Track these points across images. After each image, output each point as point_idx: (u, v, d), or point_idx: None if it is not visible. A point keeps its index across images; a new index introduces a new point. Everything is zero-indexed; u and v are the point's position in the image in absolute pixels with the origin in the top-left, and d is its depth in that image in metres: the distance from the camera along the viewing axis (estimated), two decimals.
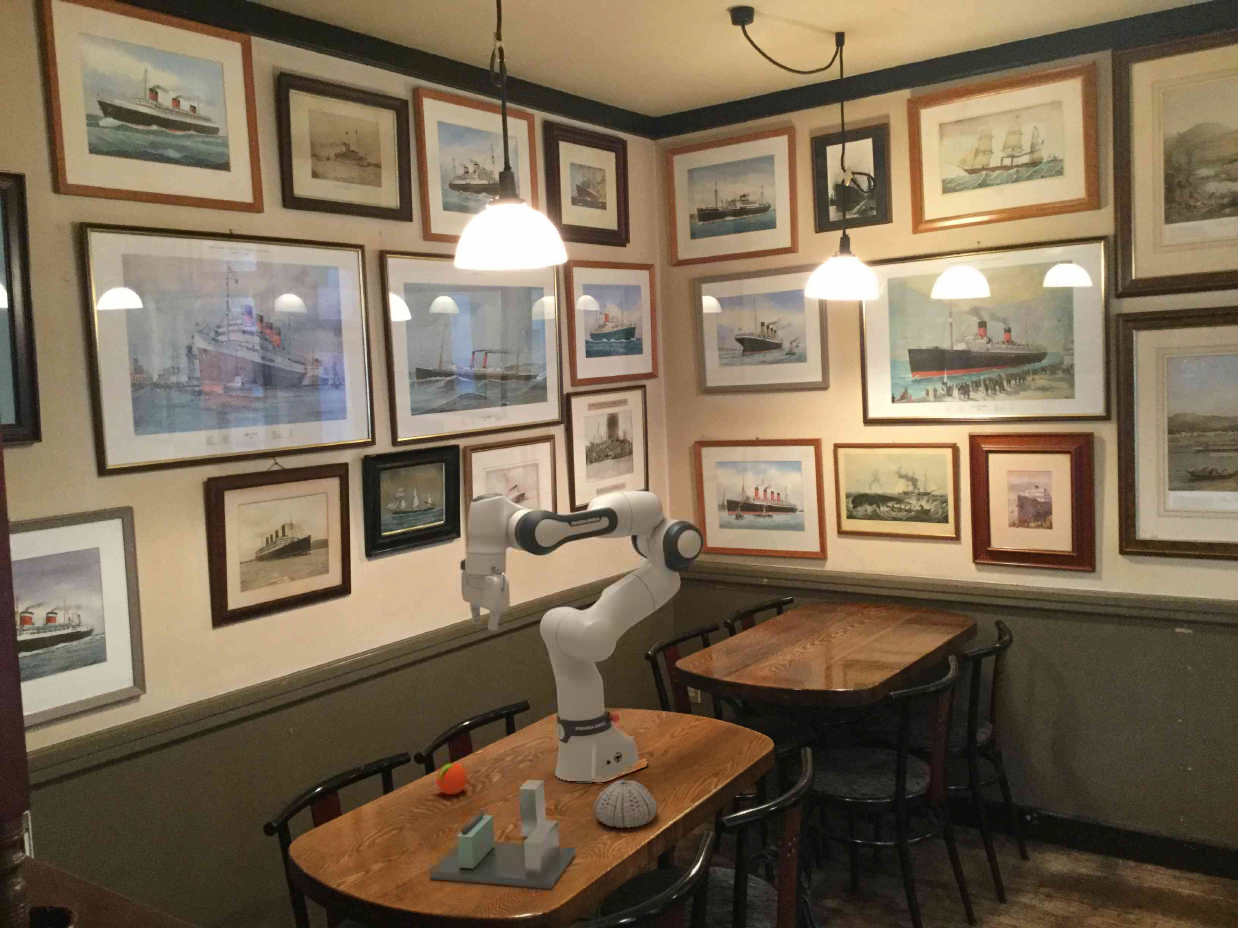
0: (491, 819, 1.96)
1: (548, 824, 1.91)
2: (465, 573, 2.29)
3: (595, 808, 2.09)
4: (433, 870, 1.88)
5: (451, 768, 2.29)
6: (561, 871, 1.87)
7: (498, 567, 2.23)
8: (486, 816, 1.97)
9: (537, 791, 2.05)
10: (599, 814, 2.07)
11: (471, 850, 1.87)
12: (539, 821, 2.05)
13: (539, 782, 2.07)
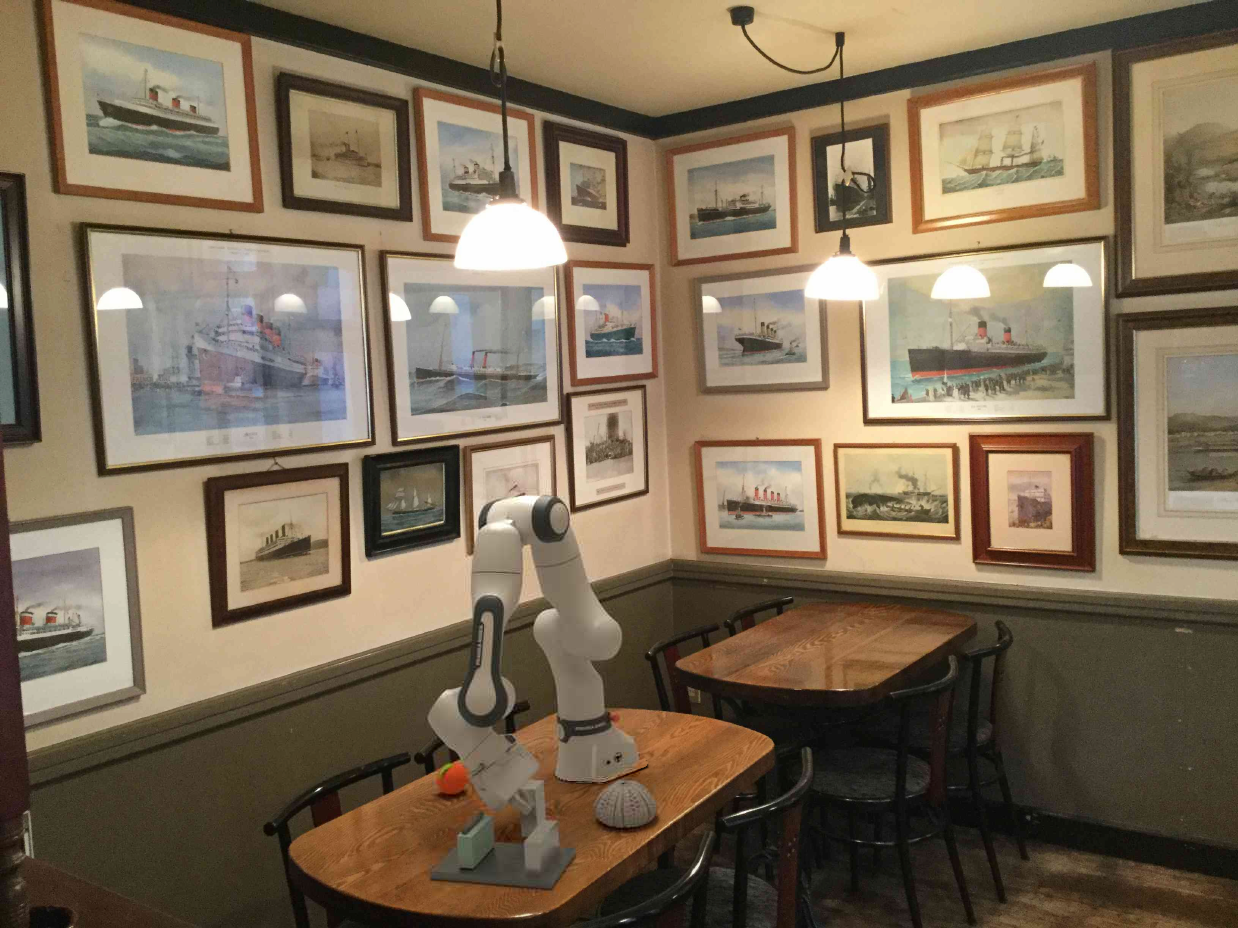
0: (491, 819, 1.96)
1: (548, 824, 1.91)
2: None
3: (595, 808, 2.09)
4: (433, 870, 1.88)
5: (451, 768, 2.29)
6: (561, 871, 1.87)
7: (484, 760, 2.04)
8: (486, 816, 1.97)
9: (537, 791, 2.05)
10: (599, 814, 2.07)
11: (471, 850, 1.87)
12: (539, 821, 2.05)
13: (539, 782, 2.07)
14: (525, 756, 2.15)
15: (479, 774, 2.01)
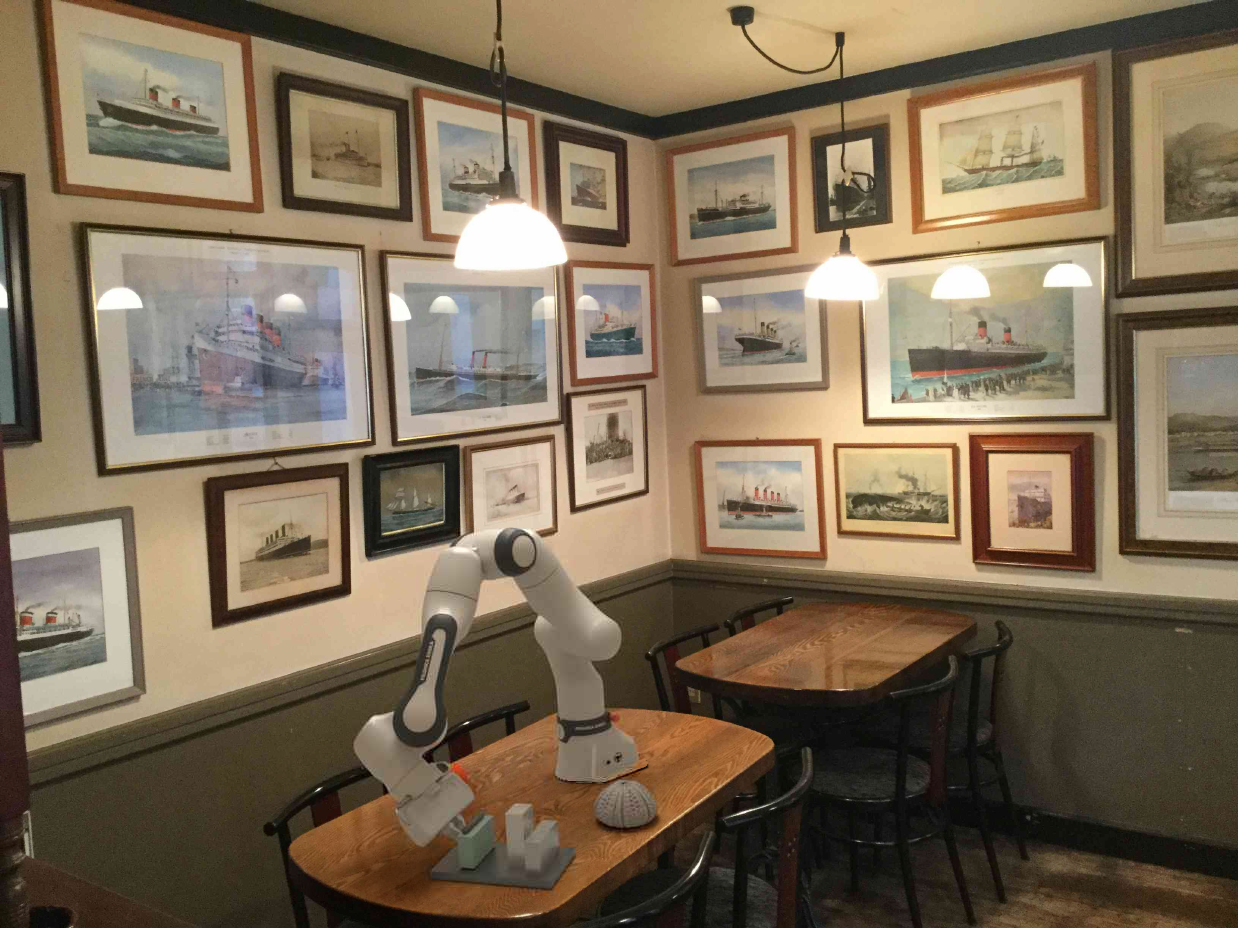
0: (492, 819, 1.96)
1: (548, 824, 1.91)
2: None
3: (595, 808, 2.09)
4: (433, 870, 1.88)
5: (451, 768, 2.29)
6: (561, 871, 1.87)
7: (411, 791, 1.91)
8: (487, 816, 1.97)
9: (525, 816, 1.88)
10: (599, 814, 2.07)
11: (472, 850, 1.87)
12: None
13: (527, 806, 1.91)
14: (459, 785, 2.02)
15: (404, 807, 1.88)
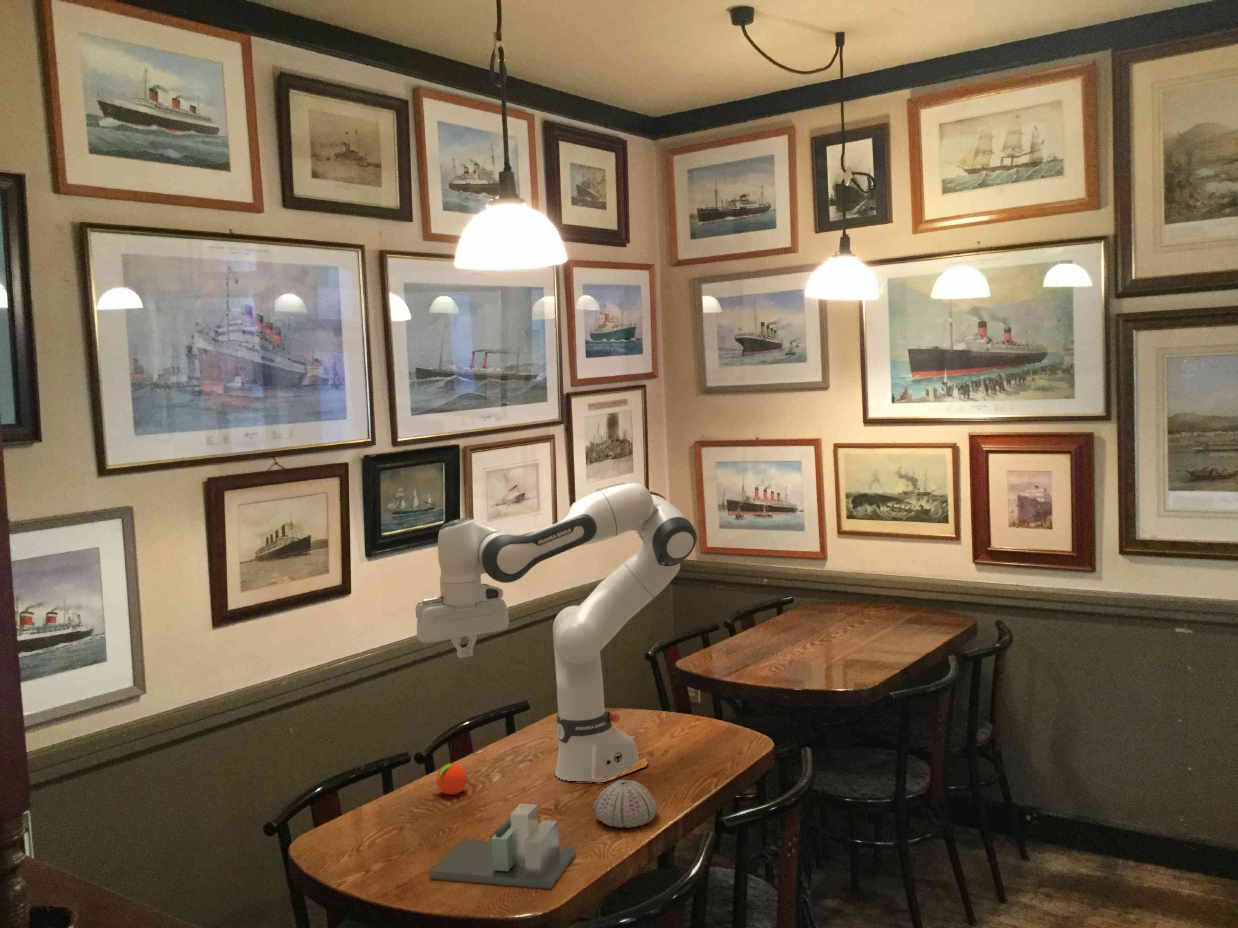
0: None
1: (548, 824, 1.91)
2: None
3: (595, 808, 2.09)
4: (433, 870, 1.88)
5: (451, 768, 2.29)
6: (561, 871, 1.87)
7: (444, 597, 2.15)
8: None
9: (530, 817, 1.88)
10: (599, 814, 2.07)
11: (506, 853, 1.85)
12: None
13: (532, 806, 1.90)
14: (499, 613, 2.20)
15: (427, 605, 2.14)
